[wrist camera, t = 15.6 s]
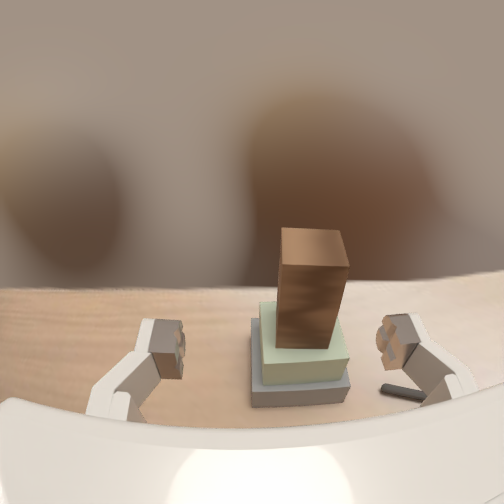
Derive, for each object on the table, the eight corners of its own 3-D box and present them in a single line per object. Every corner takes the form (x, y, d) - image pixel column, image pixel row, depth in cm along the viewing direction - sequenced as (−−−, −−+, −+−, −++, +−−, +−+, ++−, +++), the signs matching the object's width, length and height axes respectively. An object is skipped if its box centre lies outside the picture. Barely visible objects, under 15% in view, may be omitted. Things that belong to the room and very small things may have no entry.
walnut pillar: (275, 348, 29) (282, 264, 23) (276, 310, 33) (281, 227, 27) (328, 349, 29) (349, 266, 23) (323, 311, 33) (339, 230, 27)
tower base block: (252, 408, 32) (252, 391, 29) (251, 339, 40) (251, 318, 37) (341, 403, 32) (350, 386, 29) (328, 337, 40) (333, 316, 38)
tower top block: (262, 385, 30) (264, 363, 28) (259, 326, 36) (259, 302, 34) (340, 380, 30) (349, 358, 28) (326, 323, 37) (332, 299, 34)
